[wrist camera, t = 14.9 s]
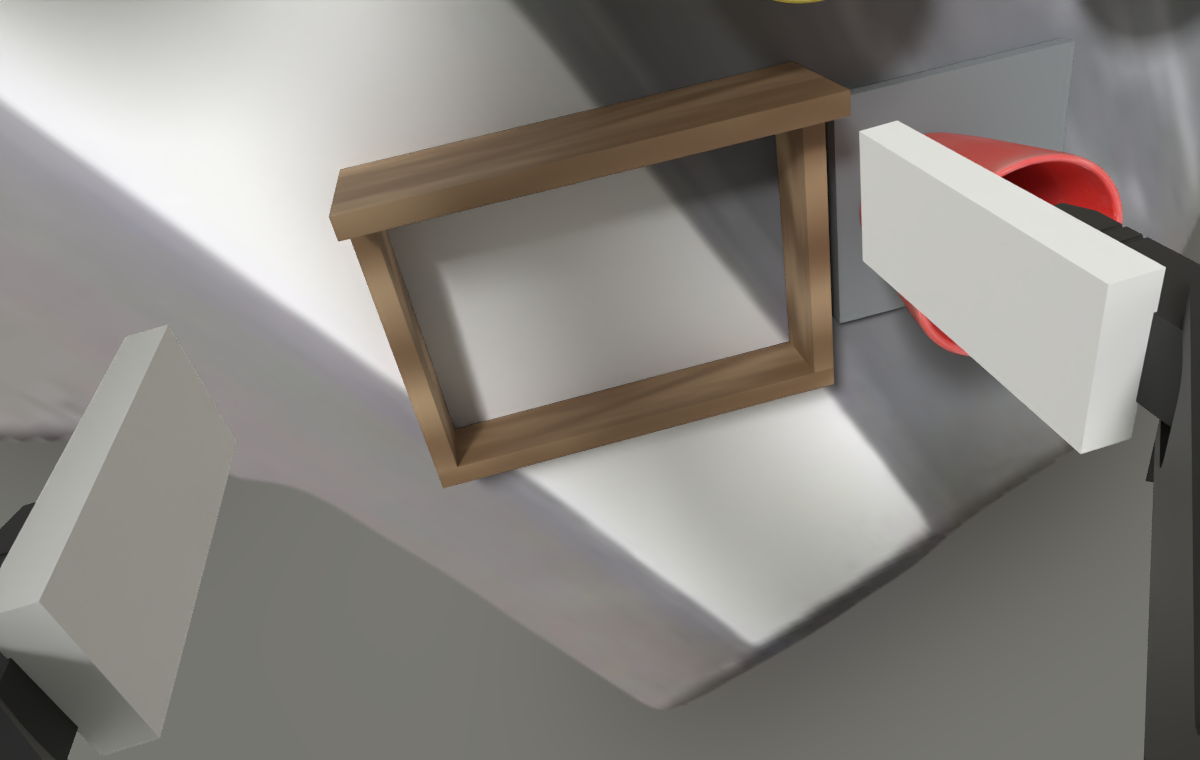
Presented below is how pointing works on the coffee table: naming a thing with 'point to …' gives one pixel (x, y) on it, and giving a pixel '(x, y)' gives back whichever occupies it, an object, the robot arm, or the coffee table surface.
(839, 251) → the rubber mat
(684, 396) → the frame
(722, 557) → the coffee table surface
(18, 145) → the coffee table surface
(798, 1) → the plant pot
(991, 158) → the flower pot
